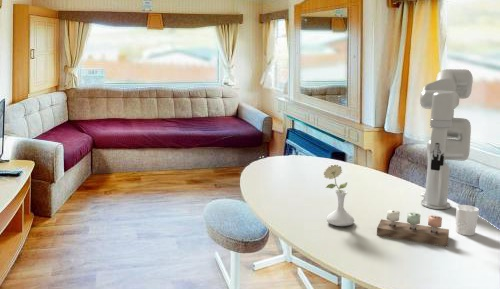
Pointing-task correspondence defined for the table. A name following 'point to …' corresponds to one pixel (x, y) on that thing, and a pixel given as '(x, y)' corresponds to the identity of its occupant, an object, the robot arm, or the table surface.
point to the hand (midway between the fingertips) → (437, 167)
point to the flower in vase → (339, 215)
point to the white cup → (466, 219)
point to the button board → (413, 233)
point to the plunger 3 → (434, 222)
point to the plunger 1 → (393, 216)
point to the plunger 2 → (413, 219)
